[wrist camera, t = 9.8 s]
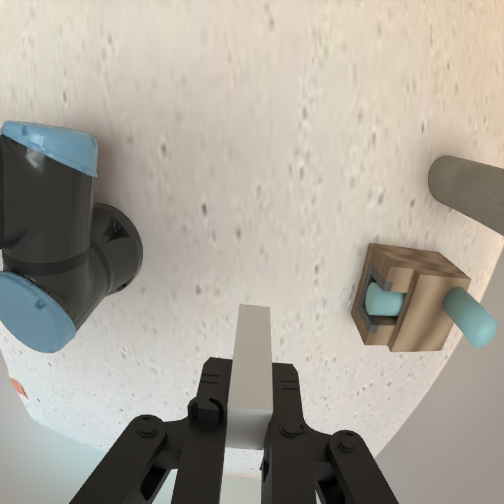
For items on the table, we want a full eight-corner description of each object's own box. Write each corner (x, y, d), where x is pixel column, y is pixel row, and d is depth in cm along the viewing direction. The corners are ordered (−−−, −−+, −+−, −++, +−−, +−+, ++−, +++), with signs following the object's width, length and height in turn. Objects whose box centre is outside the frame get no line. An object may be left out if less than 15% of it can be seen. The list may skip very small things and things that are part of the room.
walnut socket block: (351, 313, 50) (367, 352, 41) (369, 243, 46) (394, 271, 36) (417, 316, 51) (440, 350, 41) (439, 252, 46) (471, 279, 36)
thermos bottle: (471, 185, 41) (595, 244, 15) (441, 212, 43) (561, 292, 17) (451, 146, 39) (590, 181, 13) (420, 173, 41) (556, 231, 15)
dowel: (438, 312, 38) (467, 349, 30) (448, 285, 36) (481, 319, 28) (459, 312, 38) (488, 347, 30) (469, 287, 36) (502, 319, 28)
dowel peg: (363, 304, 46) (371, 321, 41) (371, 276, 44) (381, 292, 39) (427, 307, 46) (439, 322, 41) (436, 282, 44) (450, 296, 39)
